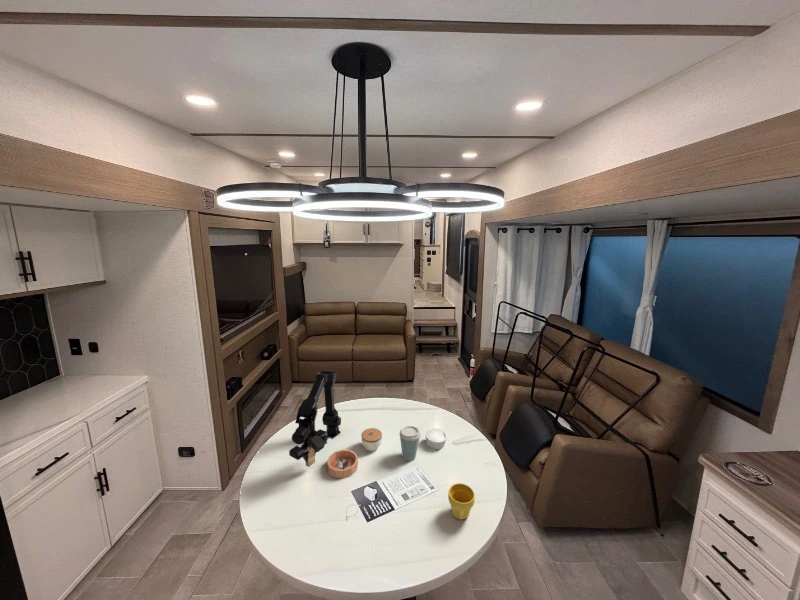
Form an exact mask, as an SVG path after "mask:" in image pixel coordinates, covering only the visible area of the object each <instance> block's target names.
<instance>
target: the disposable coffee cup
mask: <svg viewBox="0 0 800 600" xmlns="http://www.w3.org/2000/svg"><path fill="white" fill-rule="evenodd" d="M421 435H422V433H421V431H420V429H419V428H418V427H417V426H415V425H406V426H403V427H401V429H400V430H399V439H400V447H401V455H402V458H403V459H404V460H405V461H407V462H408V461H409V462H410V461H411V462H412V461H414V460H415V459H416V457H417V451H418V447H419V442H420V438H421Z"/></svg>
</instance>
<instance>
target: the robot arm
mask: <svg viewBox="0 0 800 600" xmlns="http://www.w3.org/2000/svg"><path fill="white" fill-rule="evenodd" d="M337 375H338V374H337V372H336V371H335V370H333V369H331V370H330V369H322V370H321V371H318V372H317V373H316V375H315V380H314V381H313V384H312V387H311V389H310V392H309V394H308V396H307V398H305V399H304V400H303V401H302V402H301V404H300V406H299V407H298V408H297V409H298V410H297V414H296V418H295V424H298V427H297V428H295V431H294V432H293V433H292V435H291V440H292V442H293V443H294V444H295V446H293V447H292V448H291V449H290V450H289V451H288V453H289V456H290V457H291V458H293V459H295V460H296V461H298V460H300V459H303V460H304V461H305V463H306V462H308V453H310V452H308V451H307V448H310V447H312V448H313V449H314V450H315V456H316V454H317V453H319V452H320V451H322V450H323V449H324V448H325V445H326V444H328V438H331V439H334V438H336V437H337V436H338V435H339V434H340V433H341V430H340V426H341V424H342V418H341V416H339V411H338V410H337V409H336V407H335V394H334V384H335V382H336V380H337V377H338V376H337ZM322 391H324V392H323V393H324V406H325V411H324V412H323V414H322V419H321V420H322V421H321V422H322V424H323V426H326V431H325V430H323V429H318V430H316V419H317V415H318V408H319V407H318V401H319V399H320V396H321V393H322ZM298 445H300V446H298Z"/></svg>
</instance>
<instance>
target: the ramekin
mask: <svg viewBox="0 0 800 600" xmlns="http://www.w3.org/2000/svg"><path fill="white" fill-rule="evenodd" d="M424 435H425V440H426V444H427V446H428V447H429V448H430V449H433V450H441V449H442V448H444V446H445V445H446V441H447V439H448V438H447V434H446V432H444V431H443V430H441V429H438V428H431V429H428V430H427V431H426V432H425V434H424Z"/></svg>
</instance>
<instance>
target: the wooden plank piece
mask: <svg viewBox="0 0 800 600" xmlns="http://www.w3.org/2000/svg"><path fill="white" fill-rule="evenodd" d="M307 451H308V452H310V453H308V462H305V466H306V467H308V468H309V467H311V466H312V465H314V464H315V463H316V455H315V450H314V449H313V448H312V447H310V448H307Z"/></svg>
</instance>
